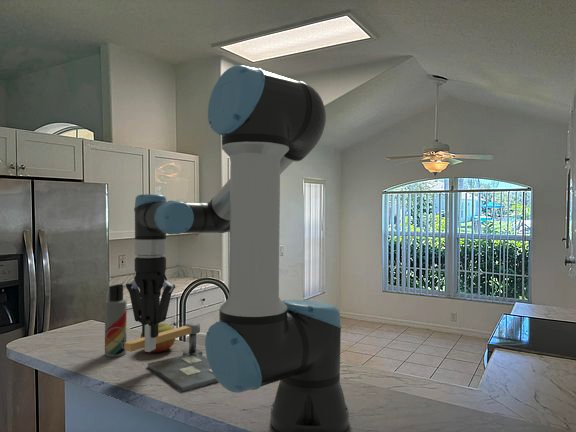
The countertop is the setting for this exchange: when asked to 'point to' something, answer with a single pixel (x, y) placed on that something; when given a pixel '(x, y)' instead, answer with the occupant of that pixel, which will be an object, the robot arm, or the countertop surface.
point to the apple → (166, 344)
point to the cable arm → (164, 336)
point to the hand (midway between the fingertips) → (150, 350)
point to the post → (192, 345)
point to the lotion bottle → (115, 322)
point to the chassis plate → (185, 371)
